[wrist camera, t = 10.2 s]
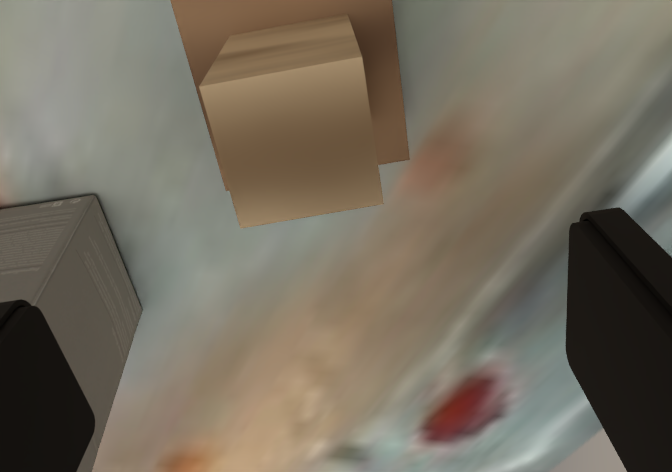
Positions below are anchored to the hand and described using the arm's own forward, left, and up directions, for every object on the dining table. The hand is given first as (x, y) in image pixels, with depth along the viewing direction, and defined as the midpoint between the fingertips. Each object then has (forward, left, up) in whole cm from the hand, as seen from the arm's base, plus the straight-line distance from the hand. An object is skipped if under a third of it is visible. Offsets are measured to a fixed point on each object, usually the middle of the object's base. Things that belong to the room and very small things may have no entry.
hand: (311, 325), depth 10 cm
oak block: (0, 0, -15) cm, 15 cm away
